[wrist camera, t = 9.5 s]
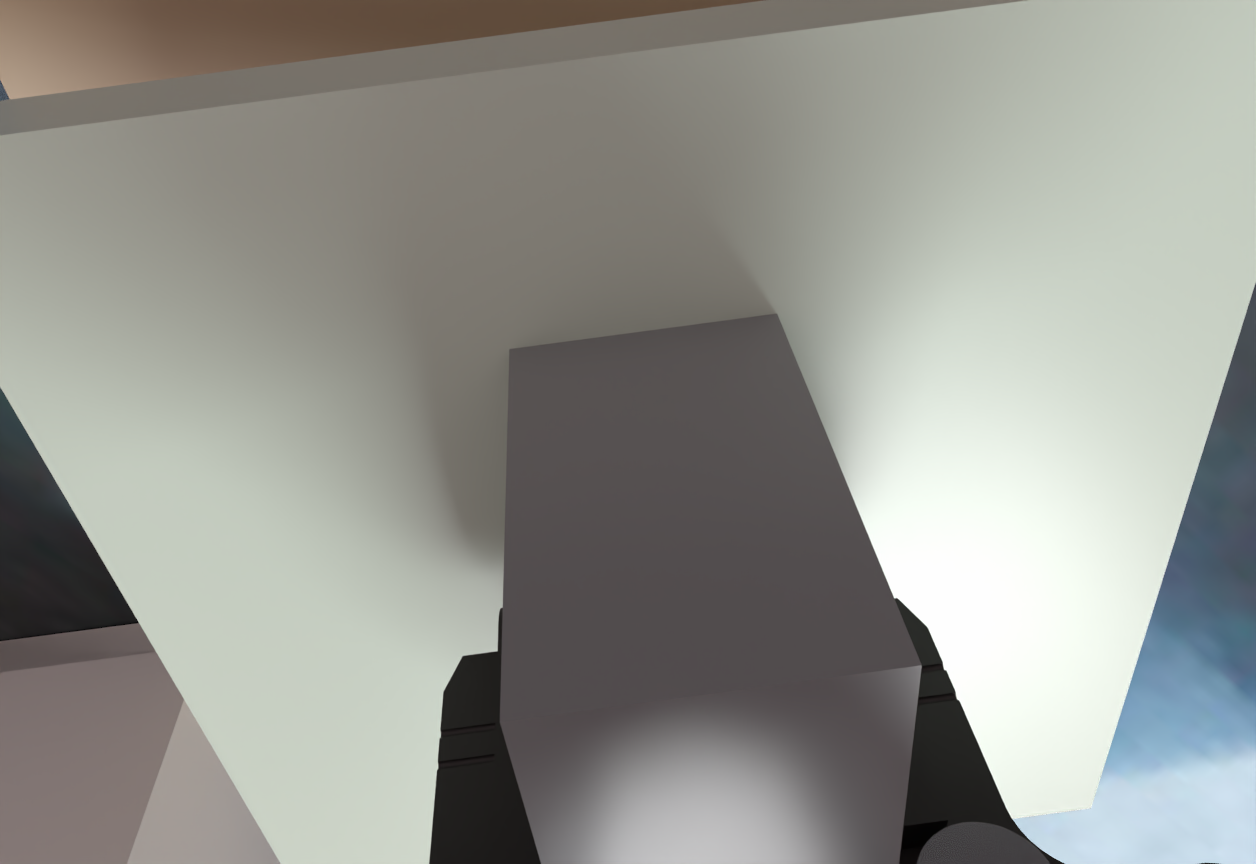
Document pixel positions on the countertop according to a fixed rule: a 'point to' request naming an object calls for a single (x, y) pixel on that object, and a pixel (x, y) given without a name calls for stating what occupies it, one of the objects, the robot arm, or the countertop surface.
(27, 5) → the board
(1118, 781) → the countertop surface
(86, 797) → the storage box
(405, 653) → the lid
